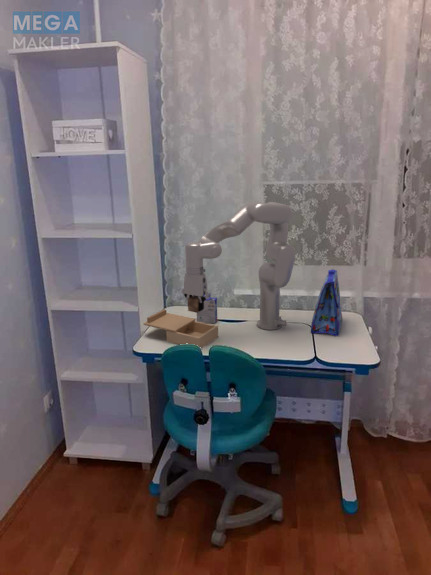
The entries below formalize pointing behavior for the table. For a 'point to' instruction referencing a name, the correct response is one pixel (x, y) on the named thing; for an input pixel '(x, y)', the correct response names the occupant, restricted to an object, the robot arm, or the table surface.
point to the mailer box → (194, 334)
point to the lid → (168, 321)
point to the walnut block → (193, 304)
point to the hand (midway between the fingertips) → (195, 308)
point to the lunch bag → (328, 307)
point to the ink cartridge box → (208, 311)
